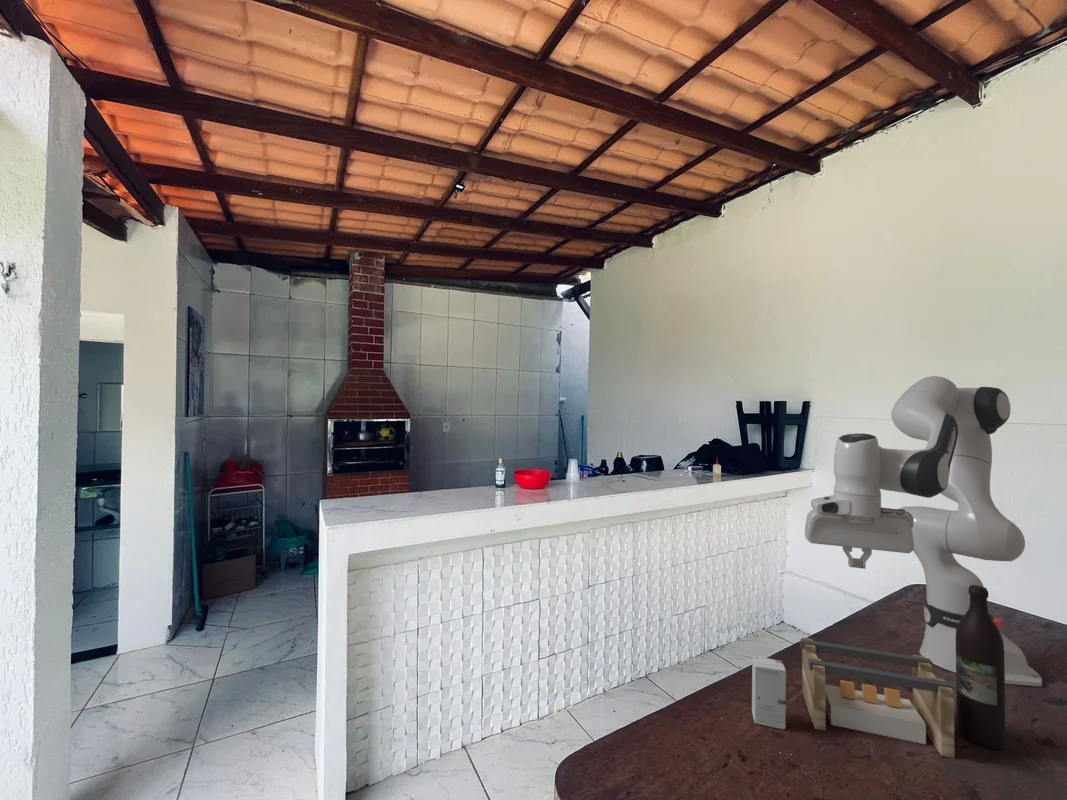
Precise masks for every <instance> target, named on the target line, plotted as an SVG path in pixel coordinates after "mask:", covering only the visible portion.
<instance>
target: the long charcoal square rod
mask: <svg viewBox="0 0 1067 800" xmlns="http://www.w3.org/2000/svg"><path fill="white" fill-rule="evenodd" d="M812 640H813V639H812ZM812 640H806V639H802V638H800V648H801V650H802V649H804V650H805V644H809V645H815V647H816V652H817V653H818V652H819V653H824V654H830V655H831V654H832V655H836V656H842V657H849V658H855V659H861V660H868V661H875V662H880V663H886V664H894V665H898V666H899V665H900V666H903V667H912V668H913V667H916V668H918V662H924V663H930V664H931V665H932V671H933V670H934V669H933V666H934V664H933V662H932V661H931V660H930V659H929V658H923V657H916V656H912V655H909V654H901V653H896V652H895V653H894V652H890V651H889V652H888V651H881V650H877V649H876V650H875V649H869V648H863V647H858V646H857V647H856V646H850V645H844V644H837V643H833V642H832V643H829V642H824V641H818V640H813V641H812Z"/></svg>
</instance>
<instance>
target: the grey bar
mask: <svg viewBox="0 0 1067 800" xmlns="http://www.w3.org/2000/svg"><path fill="white" fill-rule="evenodd" d="M813 665H819V666H824V668H825V674H830V675H835V676H842V677H846V678H852V679H859V680H864V681H865V680H866V681H870V682H875V683H881V684H886V685H892V686H898V687H905V688H911V689H913V688H915V689H921V690H927V691H932V692H938V686H943V687H949V688H952V690H953V691H954V692H955V686H954V685H953V683H951V682H950V681H946V680H945V681H940V680H934V679H928V678H922V677H916V676H913V675H910V674H909V675H907V674H904V673H897V672H891V671H883V670H881V669H873V668H866V667H860V666H854V665H848V664H842V663H837V662H831V661H824V660H821V661H820V660H814V659H808V666H809V669H810V670H812V671H813Z"/></svg>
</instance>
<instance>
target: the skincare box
mask: <svg viewBox="0 0 1067 800" xmlns="http://www.w3.org/2000/svg"><path fill="white" fill-rule="evenodd" d="M751 657H752V663H751V664H752V666H751V668H752V669H751V671H752V674H751V675H752V676H751V677H752V678H751V686H752V687H751V713H752V719H753V722H754V724H757V725H762V726H765V727H770V728H774V729H780V730H786V723H787V721H786V719H787V716H786V713H787V712H786V711H787V710H786V709H787V670H786V668H785V664H784V662H783V660H778V659H773V658H769V657H760V656H754V655H752V656H751Z"/></svg>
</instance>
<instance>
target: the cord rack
mask: <svg viewBox="0 0 1067 800" xmlns="http://www.w3.org/2000/svg"><path fill="white" fill-rule="evenodd" d="M801 639H806V640H812V641H814V640H813V638H808V637H802V638H801ZM801 652H802V653H801V659H802V660H801V661H802V663H801V664H802V665H801V667H802V670H801V671H802V677H801V679H802V695H803V694H804V695H803V698H804V700H805V703H806V707H807V711H808V712H809V716H810V719H811V723H812V724H813V725H812V726H813V727H814V728H813V729H816V730H820V731H825V732H826V731H827V728H826V727H827V726H826V724H827V721H826V719H827V717H826V715H827V712H826V708H825V685H826V673H825V668H824V666H819V665H813V671H812V670H810V669H809V666H808V659H814V660H820V661H822V659H821V658H818V656H817V653H816V652H817V651H816V647H815V645H809V644H805V650H804V649H802V648H801ZM911 656H916V657H923V658H925V657H924V656H922V655H921V654H920V655H918V654H912V655H911ZM912 676H916V677H922V678H928V679H934V680H940V681H946V679H943V678H939V677H938V678H937V677H936V676H935V674H934V672H933V670H932V665H931V664H930V663H924V662H918V668H916V667H912ZM954 696H955V690H954V691H953V690H952V688H949V687H943V686H938V692H932V691H927V690H921V689H915V688H912V705H913V706H914V707H915V709H916V710H917V712H918V713H919V715H920V716H921V718H922V719H923V721H924V722H925V724H926V735H927V736H928V737H929V739H930V740H931V743H933V746H935V748H936V750H938V753H939V754H940V755H941V757H942V756H943V757H947V758H952V759H955V758H956V757H955V753H956V752H955V709H954V708H955V702H954V701H955V700H954V699H955V697H954Z"/></svg>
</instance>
